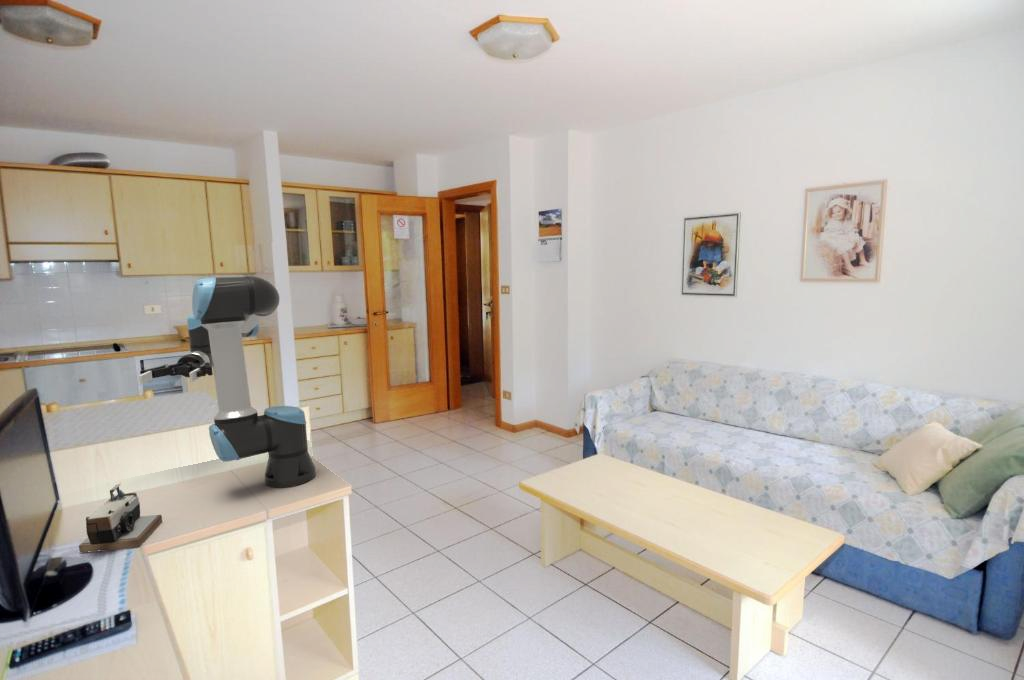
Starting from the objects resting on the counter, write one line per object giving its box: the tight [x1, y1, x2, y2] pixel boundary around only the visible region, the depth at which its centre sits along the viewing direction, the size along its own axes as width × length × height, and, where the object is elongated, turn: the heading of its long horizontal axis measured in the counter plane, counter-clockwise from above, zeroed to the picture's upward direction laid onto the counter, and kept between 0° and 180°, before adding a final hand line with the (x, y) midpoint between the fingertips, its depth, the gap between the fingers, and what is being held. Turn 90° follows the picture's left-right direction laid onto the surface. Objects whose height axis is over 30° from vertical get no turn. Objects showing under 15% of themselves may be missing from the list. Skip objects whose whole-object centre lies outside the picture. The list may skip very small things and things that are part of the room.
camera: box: [85, 483, 141, 545], centre depth 137 cm, size 15×8×10 cm, turn 10°
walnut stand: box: [78, 514, 163, 553], centre depth 138 cm, size 13×13×2 cm
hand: (166, 378), depth 160 cm, fingers open, 13 cm apart
